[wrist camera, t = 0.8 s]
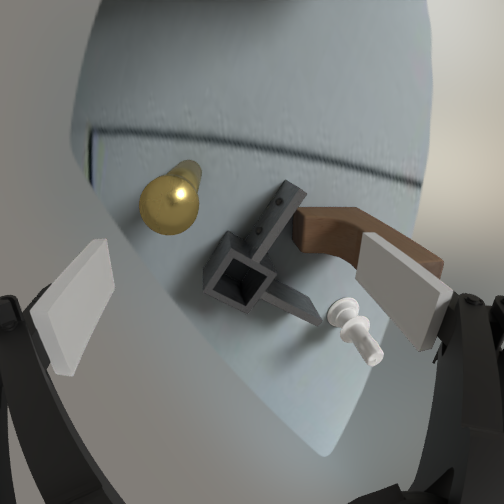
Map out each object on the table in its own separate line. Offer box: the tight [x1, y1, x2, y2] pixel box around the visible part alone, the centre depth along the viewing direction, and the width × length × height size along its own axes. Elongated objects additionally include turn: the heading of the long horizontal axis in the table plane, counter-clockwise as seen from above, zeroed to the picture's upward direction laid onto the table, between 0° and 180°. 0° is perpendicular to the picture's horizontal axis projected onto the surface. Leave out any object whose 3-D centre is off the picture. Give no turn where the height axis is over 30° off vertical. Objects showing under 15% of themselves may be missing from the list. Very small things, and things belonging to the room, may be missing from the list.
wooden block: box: [292, 207, 444, 280], centre depth 30 cm, size 9×4×18 cm, turn 90°
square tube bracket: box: [202, 180, 322, 326], centre depth 36 cm, size 15×15×6 cm
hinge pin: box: [139, 160, 202, 235], centre depth 26 cm, size 4×4×17 cm
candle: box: [327, 298, 384, 366], centre depth 38 cm, size 5×5×12 cm
